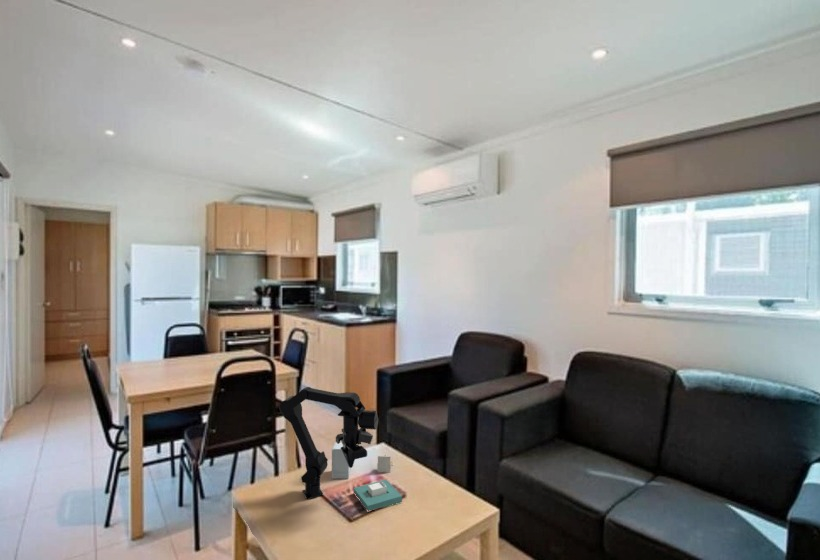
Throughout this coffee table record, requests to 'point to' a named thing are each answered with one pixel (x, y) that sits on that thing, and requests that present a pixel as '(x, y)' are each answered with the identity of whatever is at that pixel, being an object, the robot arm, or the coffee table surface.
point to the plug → (377, 489)
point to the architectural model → (384, 464)
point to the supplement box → (339, 463)
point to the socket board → (381, 500)
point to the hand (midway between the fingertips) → (350, 467)
